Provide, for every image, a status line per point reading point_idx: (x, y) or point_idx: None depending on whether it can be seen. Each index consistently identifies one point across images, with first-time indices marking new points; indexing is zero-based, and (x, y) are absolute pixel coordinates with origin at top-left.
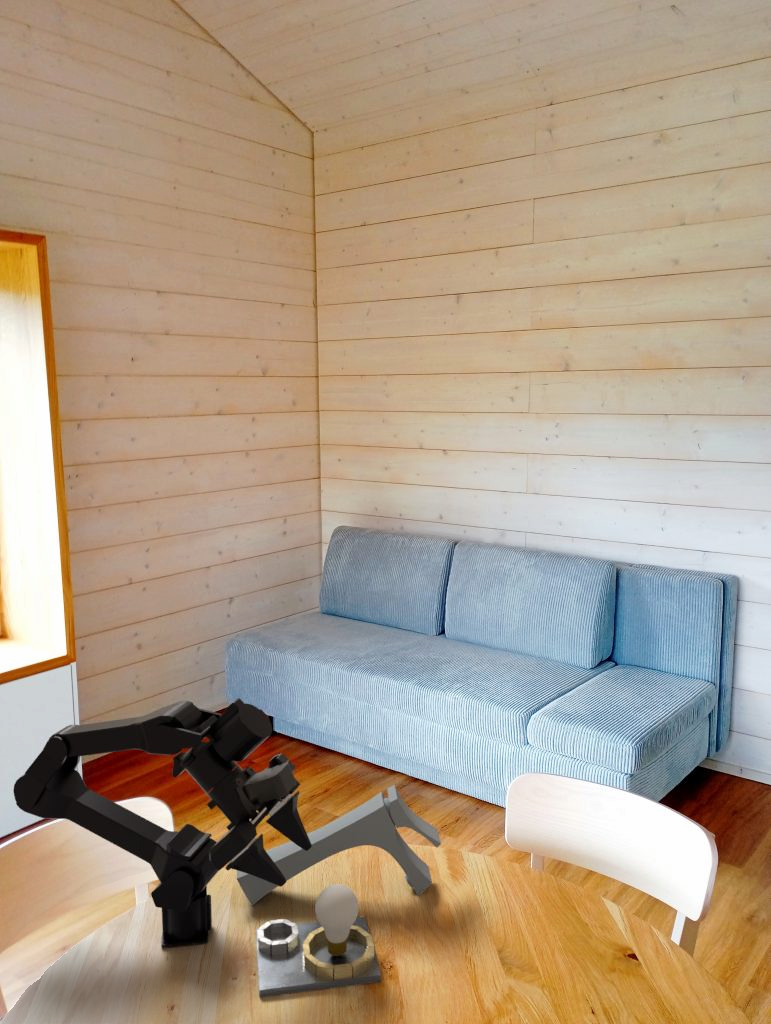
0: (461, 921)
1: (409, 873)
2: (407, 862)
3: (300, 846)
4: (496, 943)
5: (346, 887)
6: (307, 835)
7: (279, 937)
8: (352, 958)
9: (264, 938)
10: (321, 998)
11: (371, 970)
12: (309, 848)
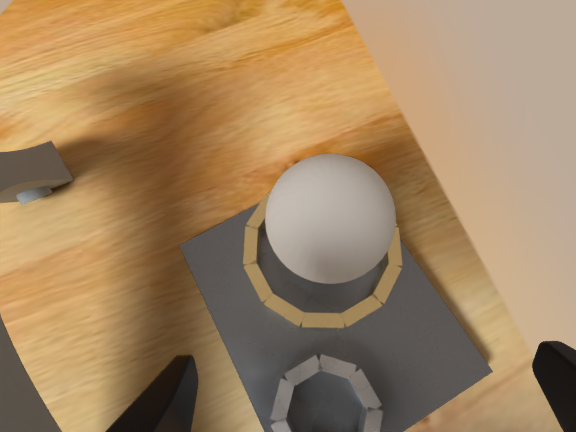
0: (143, 92)
1: (40, 171)
2: (20, 160)
3: (189, 425)
4: (190, 37)
5: (307, 173)
6: (139, 398)
7: (308, 413)
8: None
9: None
10: (426, 246)
11: None
12: (194, 363)
